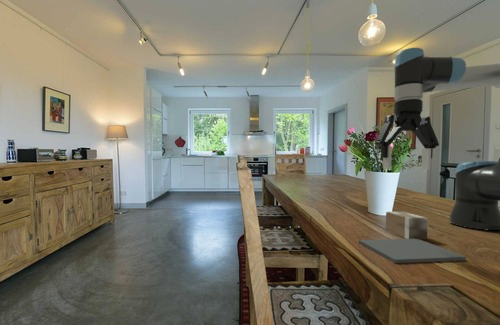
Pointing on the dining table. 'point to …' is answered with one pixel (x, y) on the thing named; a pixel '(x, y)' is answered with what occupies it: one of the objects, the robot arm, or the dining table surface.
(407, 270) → the dining table surface
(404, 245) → the mat
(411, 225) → the block
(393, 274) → the dining table surface
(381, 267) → the dining table surface
